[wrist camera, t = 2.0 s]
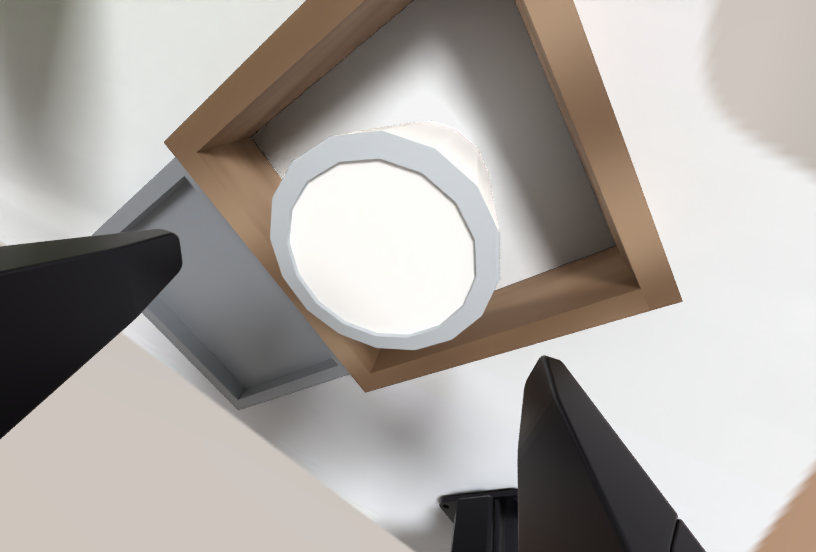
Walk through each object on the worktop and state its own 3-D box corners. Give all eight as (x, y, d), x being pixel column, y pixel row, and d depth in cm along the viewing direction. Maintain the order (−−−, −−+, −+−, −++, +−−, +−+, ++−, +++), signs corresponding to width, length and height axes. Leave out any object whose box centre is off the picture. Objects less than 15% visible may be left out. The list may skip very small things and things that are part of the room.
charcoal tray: (365, 354, 22) (356, 371, 21) (251, 394, 27) (238, 410, 26) (204, 145, 18) (181, 151, 16) (102, 237, 23) (78, 248, 21)
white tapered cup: (353, 245, 19) (280, 329, 13) (351, 95, 15) (249, 116, 9) (489, 268, 17) (478, 373, 12) (521, 112, 14) (530, 148, 8)
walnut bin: (649, 255, 15) (682, 301, 12) (384, 347, 22) (365, 392, 19) (504, -125, 11) (502, -195, 8) (223, 128, 17) (163, 142, 14)
